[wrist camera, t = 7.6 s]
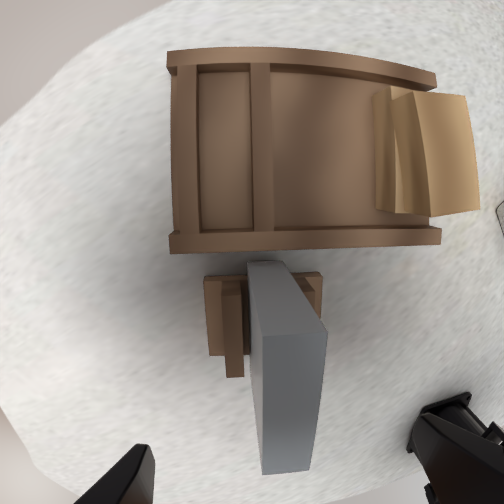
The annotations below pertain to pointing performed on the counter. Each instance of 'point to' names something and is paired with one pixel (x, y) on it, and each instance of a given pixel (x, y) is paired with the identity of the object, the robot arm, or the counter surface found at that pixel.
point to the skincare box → (501, 215)
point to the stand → (242, 314)
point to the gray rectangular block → (284, 367)
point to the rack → (281, 151)
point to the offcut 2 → (436, 153)
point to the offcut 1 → (387, 152)
